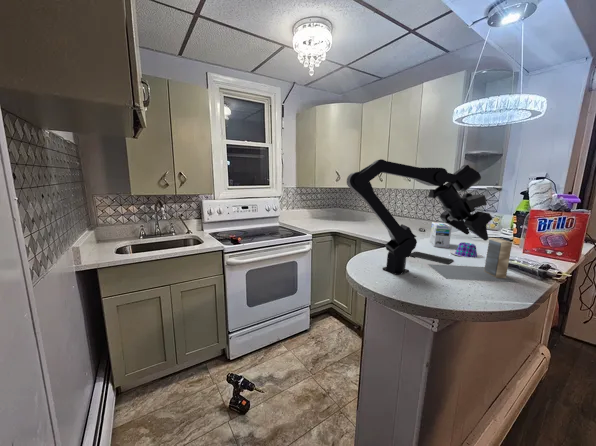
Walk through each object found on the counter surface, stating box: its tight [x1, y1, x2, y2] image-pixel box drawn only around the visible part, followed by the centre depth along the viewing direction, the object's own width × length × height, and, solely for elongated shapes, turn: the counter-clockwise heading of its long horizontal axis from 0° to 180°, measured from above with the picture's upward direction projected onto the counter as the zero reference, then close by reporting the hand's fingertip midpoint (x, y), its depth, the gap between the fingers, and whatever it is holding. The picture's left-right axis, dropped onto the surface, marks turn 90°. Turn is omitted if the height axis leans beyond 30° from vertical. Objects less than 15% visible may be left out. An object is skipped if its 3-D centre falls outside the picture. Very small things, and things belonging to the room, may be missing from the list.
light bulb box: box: [429, 221, 453, 249], centre depth 124 cm, size 11×7×11 cm, turn 164°
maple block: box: [484, 237, 513, 278], centre depth 83 cm, size 3×6×12 cm, turn 176°
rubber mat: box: [427, 263, 520, 283], centre depth 86 cm, size 22×14×1 cm, turn 86°
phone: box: [409, 251, 454, 265], centre depth 101 cm, size 8×1×15 cm
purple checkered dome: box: [449, 241, 484, 259], centre depth 108 cm, size 12×12×5 cm
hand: (476, 236), depth 84 cm, fingers open, 9 cm apart
